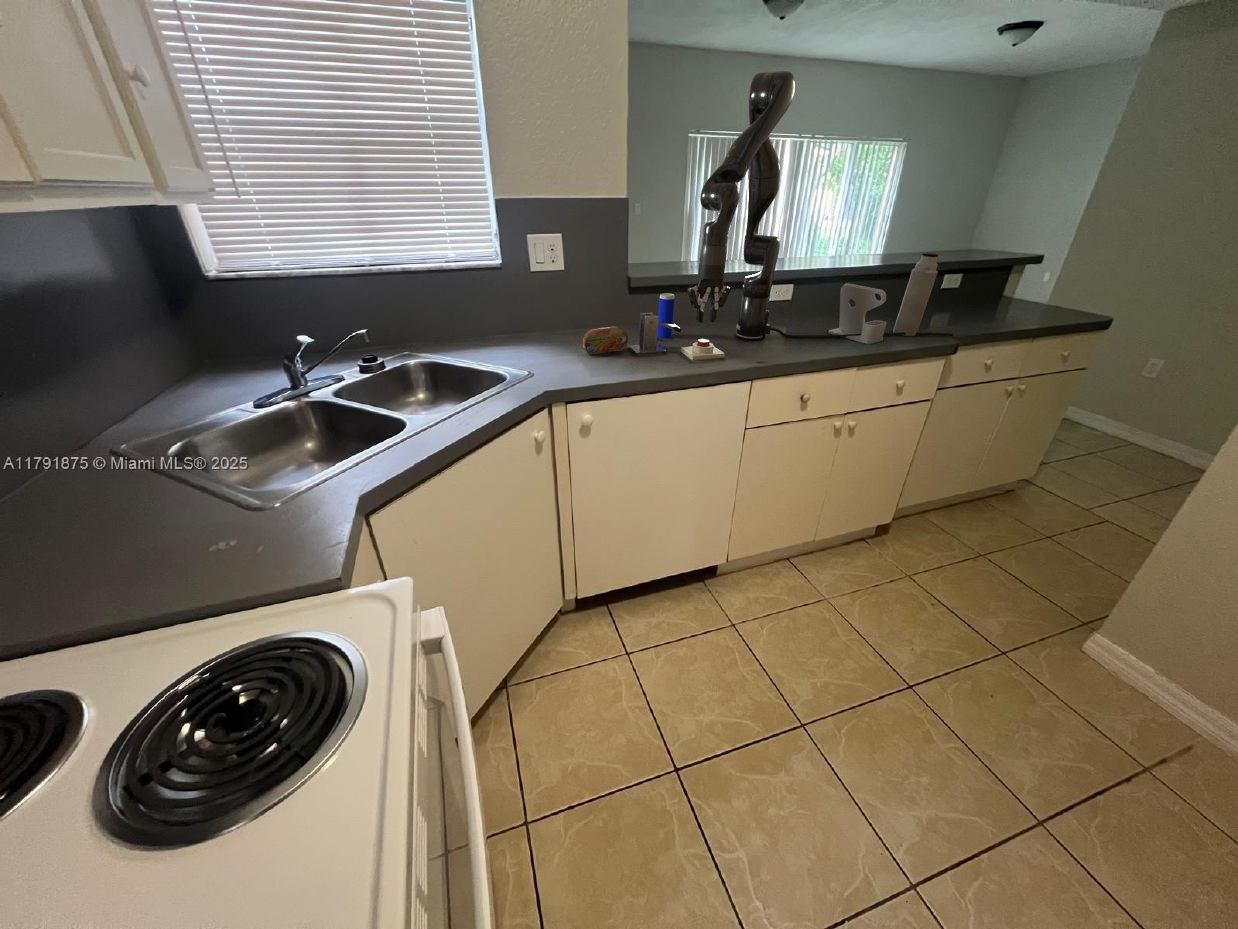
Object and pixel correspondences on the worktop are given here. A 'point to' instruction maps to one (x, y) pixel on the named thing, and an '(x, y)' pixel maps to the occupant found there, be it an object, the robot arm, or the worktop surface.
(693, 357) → the button block
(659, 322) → the press lever
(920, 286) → the thermos bottle
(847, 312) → the phone holder
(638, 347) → the press bracket
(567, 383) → the worktop surface
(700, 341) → the button
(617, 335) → the tin
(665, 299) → the beverage can
